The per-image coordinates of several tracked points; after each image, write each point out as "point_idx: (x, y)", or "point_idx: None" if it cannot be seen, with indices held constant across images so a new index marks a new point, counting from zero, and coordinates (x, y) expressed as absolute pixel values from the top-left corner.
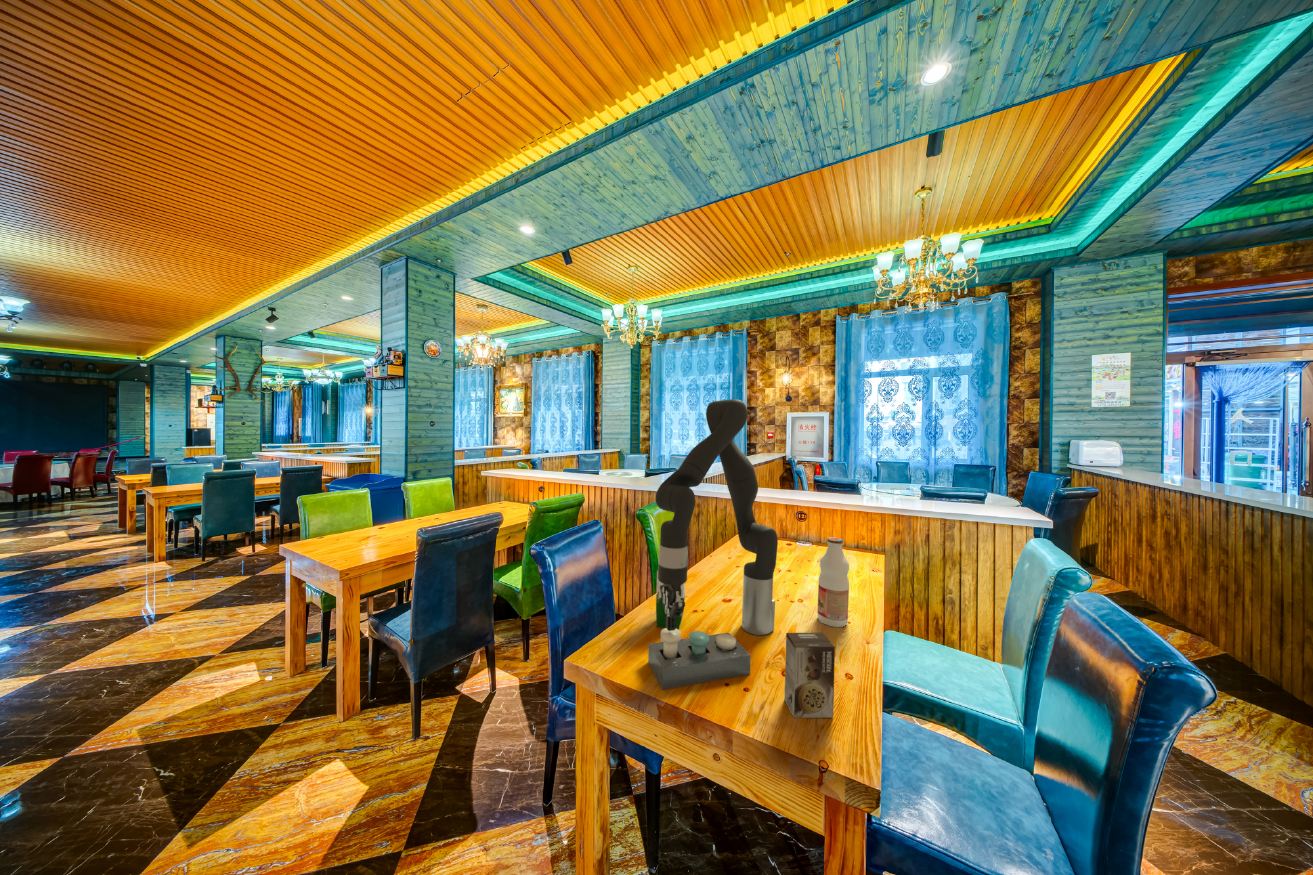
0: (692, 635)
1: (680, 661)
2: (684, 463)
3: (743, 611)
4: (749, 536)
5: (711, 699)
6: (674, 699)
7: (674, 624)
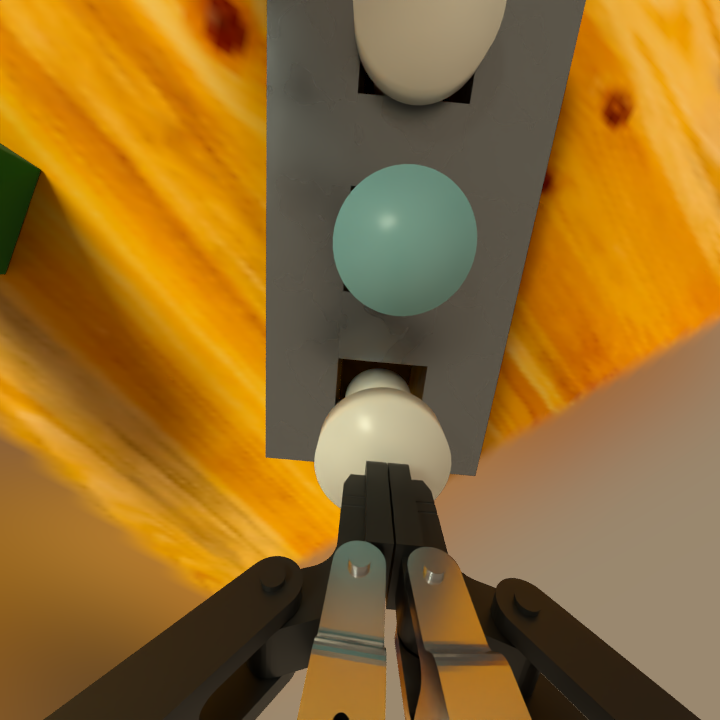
0: (380, 287)
1: (457, 387)
2: None
3: None
4: None
5: (582, 298)
6: (514, 415)
7: (435, 514)
